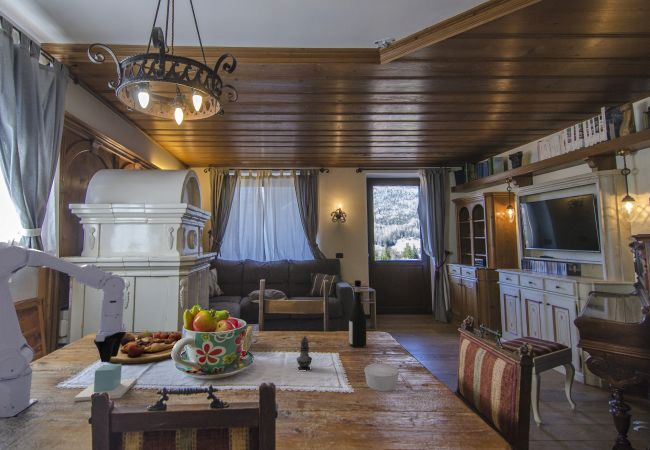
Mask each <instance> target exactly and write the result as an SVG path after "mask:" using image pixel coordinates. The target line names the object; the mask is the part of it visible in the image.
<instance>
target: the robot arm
mask: <svg viewBox="0 0 650 450" xmlns="http://www.w3.org/2000/svg"><path fill="white" fill-rule="evenodd" d="M33 266H37V267H38V266H39V267H40V266H43V267H47V268H49V269H53V270H55V271H59V272H62V273H65V274H66V275H67V274H68V275H70V276H73V278H74V280H75V282H77V283H79V284H80V285H81V284H82V285H85V286H87V287H90V288H93V289H95V290H97V291H98V290H102V292H103V297H102V300H101V309H100V310H101V312H100V327H99V330H98V332H97V333H96V334H95V338H94V339H93V343H94V345H95V347H96V348H97V351H98V354H99V358H100V361H101V363H109V362H110V359H111V357H116V356H117V354H118V351H119V348H120V345H121V342H122V340H123V338H124V336H125V335H126V333H127V332H126V331H127V327H125V323H123V319H124V318H123V317H124V305H125V304H124V303H125V298H124V295H125V294H124V290H125V288H126V284H125V280H124V278H123V277H121V276H120V275H118V274H114V272H112V271H106V270H104V269H100V268H98V266H97V265H96V264H91V265H90V264H83V265H81V266H80V265H78V264H75V263H73V262H70V261H69V260H66V259H63V258H61V257H59V256H56V255H54V254H52V253H48V252H47V251H43V250H39V249H35V248H30V247H28V246H25V245H6V246H5V245H4V246H3V247H1V248H0V418H12V417H15V416H16V415H18V414H19V413H20V412H23V410H25V409H27V408H28V407H30V406H31V405H33V404H35V403H36V402H38V401H39V399H38V398H31V393H32V392H31V389H32V376H33V368H32V367H31V366H30V363H32V361H33V360H34V358H35V350H34V349H33V347H31V346H30V345H29V344H28V342H27V339H26V338H25V336H24V335H23V332H22V330H21V326H20V322H19V318H18V313H17V310H16V307H15V303H14V299H13V296H12V293H11V288H10V285H9V281H10V280H11V279H12V278H13V276H15V275H16V273H18V271H20V270H22V269H24V268H25V267H33Z"/></svg>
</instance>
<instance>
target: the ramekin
mask: <svg viewBox="0 0 650 450" xmlns="http://www.w3.org/2000/svg"><path fill="white" fill-rule="evenodd" d="M363 372H364V374H365V380H366V384H367V386H368V387H369V388H370V389H371V390H374V391H378V392H391V391H393V390H395V389H396V388H397V386H398V380H399V375H400V370H399V369H398V368H397V367H396V366H394V365H391V364H387V363H371V364H368V365H366V366H365V367H364V371H363Z"/></svg>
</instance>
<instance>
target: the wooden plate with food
mask: <svg viewBox="0 0 650 450" xmlns="http://www.w3.org/2000/svg"><path fill="white" fill-rule="evenodd" d="M168 333H169V332H162V330H160V331H158V332H156V333H155V334H153V333H152V332H151V331H149V330H148V329H145V330H143V331H142V332H140V333H139V334H138V335H137V339H136V337H135V336H134V334H133V333H132V332H126V335H125V336H124V338H123V340H122V342H121V345H120V348H119V351H118V354H117V356H116V357H111V359H110V361H109V362H110V363H114V364H146V363H154V362H160V361H165V360H168V358H169V359H172V358H171V351H172V348H173V346H174V344H175V343H176V342H177V341H178V340H180V339H181V340H182V334H181V333H179V332H176V333H175V332H173V331H172V332H171V333H169V334H168ZM153 335H154V336H153Z"/></svg>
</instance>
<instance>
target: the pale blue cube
mask: <svg viewBox="0 0 650 450" xmlns="http://www.w3.org/2000/svg"><path fill="white" fill-rule="evenodd" d="M122 364H123V363H114V364H113V363H112V364H109V363H108V364H102V365H101V366H99V367H98V368H97V369H95V371H94V381H93V383H94V392H95V391H110V390H114V389H115V388H116V387H117V386H118V385H119V384H120V383H121V379H122V368H123V367H122V366H123V365H122Z"/></svg>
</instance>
